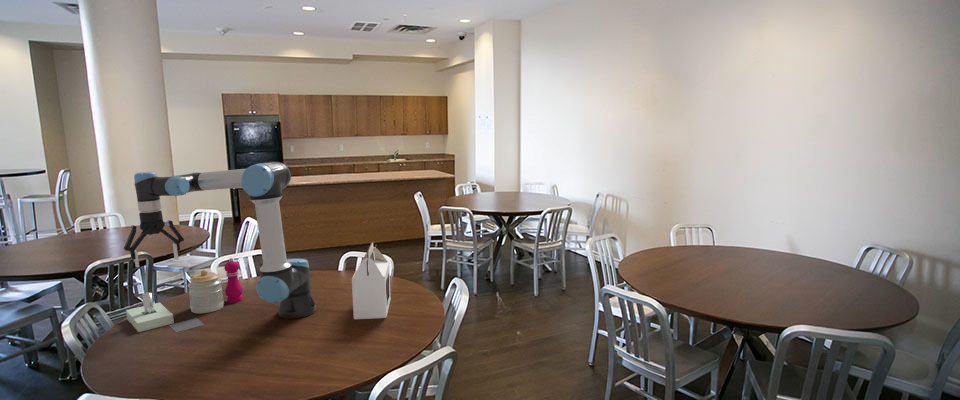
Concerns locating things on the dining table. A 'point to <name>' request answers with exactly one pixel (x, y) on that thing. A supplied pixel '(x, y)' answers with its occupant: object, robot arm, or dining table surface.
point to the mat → (186, 325)
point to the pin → (148, 303)
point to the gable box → (371, 286)
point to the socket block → (149, 317)
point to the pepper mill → (233, 282)
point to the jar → (205, 292)
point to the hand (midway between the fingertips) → (157, 262)
